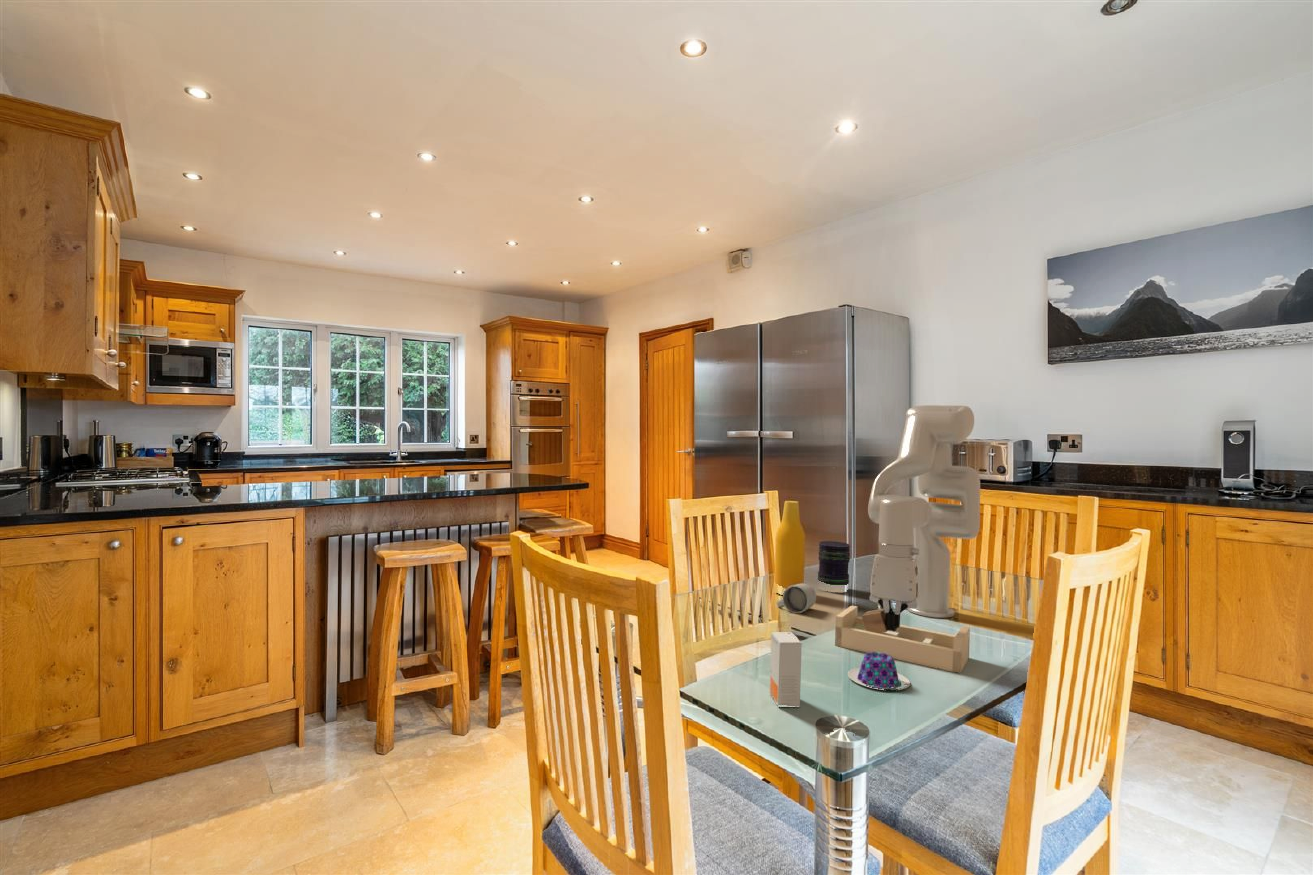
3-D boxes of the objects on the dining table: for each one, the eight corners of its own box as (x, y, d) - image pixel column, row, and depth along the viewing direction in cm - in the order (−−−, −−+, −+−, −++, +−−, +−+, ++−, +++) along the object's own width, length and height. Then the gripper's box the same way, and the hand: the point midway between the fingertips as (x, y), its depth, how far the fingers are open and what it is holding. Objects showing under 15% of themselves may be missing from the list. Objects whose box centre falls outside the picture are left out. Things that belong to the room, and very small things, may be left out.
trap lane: (850, 632, 157) (851, 605, 156) (968, 657, 141) (970, 627, 141) (834, 645, 147) (835, 615, 147) (960, 673, 131) (961, 640, 131)
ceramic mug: (817, 609, 178) (818, 582, 178) (807, 615, 171) (808, 587, 171) (782, 603, 183) (783, 577, 183) (771, 609, 177) (772, 582, 177)
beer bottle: (802, 598, 189) (805, 503, 189) (771, 595, 192) (774, 501, 192) (805, 591, 198) (807, 501, 197) (775, 588, 201) (778, 499, 200)
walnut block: (872, 630, 150) (867, 611, 150) (891, 627, 147) (885, 608, 148) (867, 634, 146) (861, 615, 147) (886, 632, 143) (880, 612, 144)
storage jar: (818, 592, 198) (820, 545, 198) (815, 584, 207) (817, 540, 207) (850, 594, 196) (852, 547, 196) (846, 587, 206) (848, 542, 206)
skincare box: (768, 694, 117) (770, 631, 117) (790, 694, 118) (792, 631, 118) (777, 708, 111) (779, 642, 111) (800, 708, 112) (802, 642, 112)
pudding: (905, 699, 118) (906, 671, 118) (841, 684, 124) (842, 658, 124) (913, 678, 128) (914, 653, 128) (854, 666, 134) (855, 642, 134)
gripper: (932, 553, 144) (929, 632, 143) (866, 545, 152) (864, 620, 152) (926, 557, 137) (923, 640, 137) (858, 548, 146) (855, 626, 145)
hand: (892, 629), depth 144 cm, fingers closed
